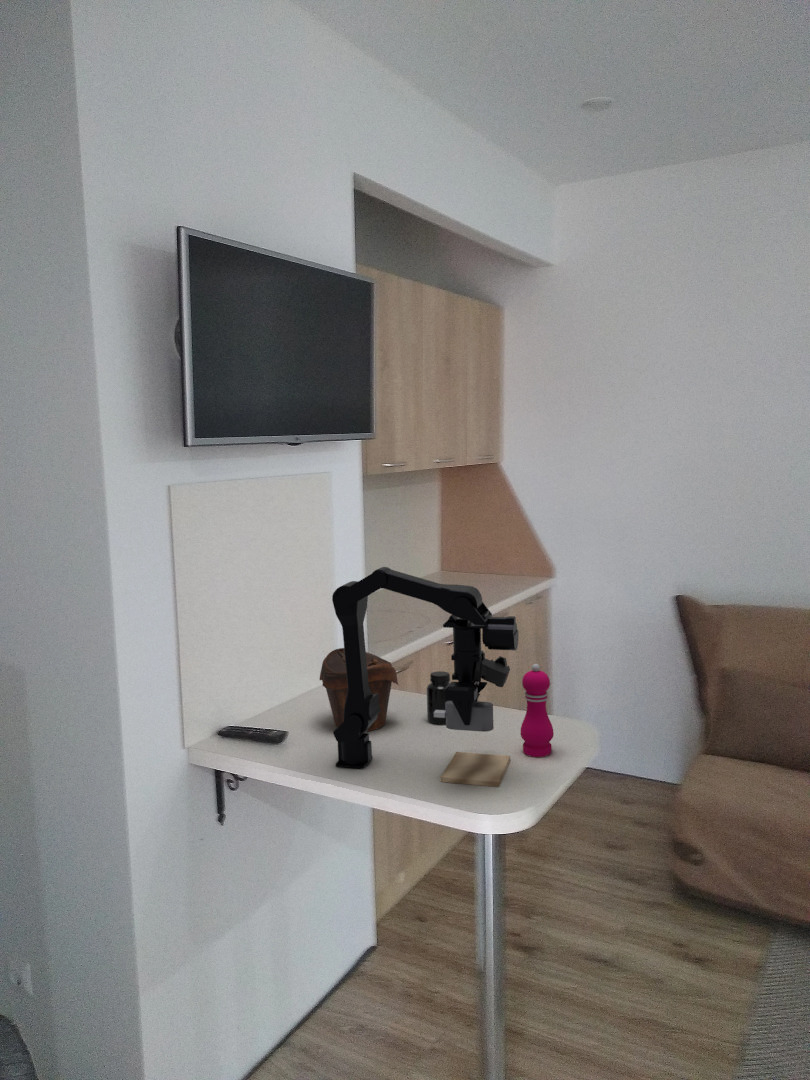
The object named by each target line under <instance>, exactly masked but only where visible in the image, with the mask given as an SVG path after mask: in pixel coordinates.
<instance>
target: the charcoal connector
mask: <svg viewBox="0 0 810 1080" xmlns="http://www.w3.org/2000/svg"><path fill="white" fill-rule="evenodd" d="M445 709H446V710H435V712H434V717H439V718H445V717H446V724H445V727H446V729H449V730H452V731H453V730H455V731H469V732H480V733H481V732H490V731H493V730H494V726H495V725H494V704H493V703H492V702H489V701H479V700H478V701H474V702H473V707H472V714H471V721H470V725H469V726H468V725H464V723H463V721H462V719H461V717H460V715H459V713H458V711H457V709H456V707H455V706H454V704H453V702H452V701H447V702H446V703H445Z"/></svg>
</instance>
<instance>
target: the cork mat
mask: <svg viewBox="0 0 810 1080" xmlns="http://www.w3.org/2000/svg"><path fill="white" fill-rule="evenodd" d="M510 762H511V755H502V754H501V755H500V754H492V753H491V754H489V753H478V752H477V753H476V752H463V751H455V752H454V755H453V756H452V758H451V760H450V761H449V763H448V765H447V766H446V768H445V769H444V771H443V773H442V774H441V776H440V782H441V783H450V784H451V783H452V784H461V785H474V786H486V787H497V788H499V787H500V785H501V783H502V781H503V779H504V776H505V773H506V772H507V769H508V767H509V764H510Z"/></svg>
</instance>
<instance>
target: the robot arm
mask: <svg viewBox="0 0 810 1080" xmlns="http://www.w3.org/2000/svg"><path fill="white" fill-rule="evenodd" d="M380 589H384V590H388V591H391V592H394V593H397V594H401V595H405V596H407V597H411V598H414V599H417V600H421V601H425V602H428V603H432V604H433V605H435V606H438V607H439V608H440V609H442V610H443V611H444V612H446V613H448V614H450V616H449V618H448V619H447V620H446V621H444V623H443V624H442V627H443V628H445V629H446V628H449V629H452V636H453V637H452V638H453V639H452V641H453V644H452V645H453V653H452V654H451V658H450V659H451V661H453V673H452V675H451V680H452V681H450V682H449V683H450V684H449V685H448V686H447V687H446V688H445V689H444V691H443V692H444V700H446V701H452V702H453V704H454V706H455V707H456V709H457V711H458V713H459V715H460V717H461V719H462V721H463V723H464V725H468V726H469V725H470V721H471V714H472V707H473V702H474V701H479V697H480V696H481V694H480V693H481V692H482V691H483V690H484V689H485V687H486V686H487V685H488V682H489V683H490V684H493V685H495V686H496V687H499V688H503V687H504V685H505V684H506V681H507V679H508V677H509V674H510V671H511V668H510V666H509V665H508V663H507V662H508V661H507V658H506V657H504V656H500V655H499V656H498V657H497V658H496V659H495V660H494V659H487V658H486V653H485V652H484V650H482V643H483V645H484V647H485V648H487V649H488V650H489V651H517V650H518V647H519V629H518V623H517V622H516V621H517V620H516V618H517V617H516V616H515V615H514V616H493V613H492V612H491V611H490V609H489V608H488V607H487V605H486V604H485V603H484V602H483V596H482V593H481V592H480V590H479V589H478V588H476V587H474V586H471V585H465V584H446V583H445V584H444V583H438V582H435V581H431V580H428V579H426V578H421V577H417V576H415V575H412V574H408V573H404V572H401V571H399V570H394V569H391V568H390V567H388V566H382V567H381V566H380V567H379V568H377V569H375V570H373V571H372V573H370V574H369V575H367V576H366V577H364V578H361V579H360V580H358V581H355V580H352V581H349V582H347V583H345V584H342V585H341V586H338V587H337V588H336V589H335V590H334V592H333V593H332V596H331V597H332V598H331V599H332V600H331V601H332V604H333V608H334V613H335V616H336V617H337V619H338V621H339V623H340V626H341V628H342V629H341V630H342V639H343V648H344V651H345V663H346V674H347V685H348V693H347V697H346V701H345V705H344V716H343V723H342V724H341V725H340V726H339V727H338V728H337V727H336V729H334V730H333V736H334V738H335V741H336V742H337V758H338V760H337V762H336V763H335V766H336V767H341V768H353V769H364V768H366V766H367V765H368V764H369V763H370V761H372V759H373V757H374V756H373V751H372V748H373V747H372V746H373V745H372V740H370V733H368V731H367V730H369V728H370V725H371V724H372V723H373V722H374V721H375V720H376V719H377V717H378V713H379V712H380V711H381V709H380V707H379V694H378V693H377V694H372V692H371V690H370V688H369V683H368V672H367V661H366V652H367V650H366V640H365V639H366V638H365V628H364V621H365V618H366V614H367V611H368V610H367V609H368V600H369V599H368V597H369V596H370V595H372V594H374V593H375V592H377V591H378V590H380ZM482 680H483V681H482Z"/></svg>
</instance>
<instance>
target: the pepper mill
mask: <svg viewBox="0 0 810 1080" xmlns="http://www.w3.org/2000/svg"><path fill="white" fill-rule="evenodd" d="M521 684H522V687H523V690H525V692H524V699H525V700H526V712H525V716H524V718H523V721H522V723H521V726H520V737H521V739H522V740H523V741H524V742H523V743H522V752H523V754H525V755H526V756H528V757H534V758H543V757H547V756H549V755H551V754H552V750H553V749H552V747H553V746H552V743H551V741H552V739H553V738H554V727H553V724H552V722H551V720H550V718H549V715H548V711H547V705H546V704H547V700H548V699H549V696H548V695H549V693H548V689H550V686H551V682H550V677H549V675H548V674H547V673H546V672H544V670H543V671H542V670H541V667H540V665H539V664H538V663H534V664H532V665H531V670H530V671H527V672H526V673H525V674H524V675H523V677H522V682H521Z"/></svg>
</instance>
